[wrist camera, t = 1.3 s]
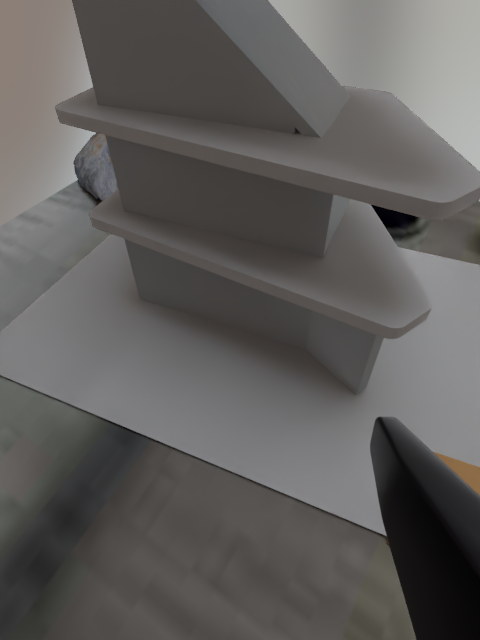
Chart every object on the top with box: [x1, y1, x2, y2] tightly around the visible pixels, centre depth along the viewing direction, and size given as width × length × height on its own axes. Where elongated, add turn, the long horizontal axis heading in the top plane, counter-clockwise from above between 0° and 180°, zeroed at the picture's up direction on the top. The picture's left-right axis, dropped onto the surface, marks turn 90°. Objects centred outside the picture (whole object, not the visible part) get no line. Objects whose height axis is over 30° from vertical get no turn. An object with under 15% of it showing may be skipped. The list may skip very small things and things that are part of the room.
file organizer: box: [0, 0, 480, 536], centre depth 25 cm, size 26×35×22 cm
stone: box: [74, 133, 118, 201], centre depth 46 cm, size 17×5×10 cm
